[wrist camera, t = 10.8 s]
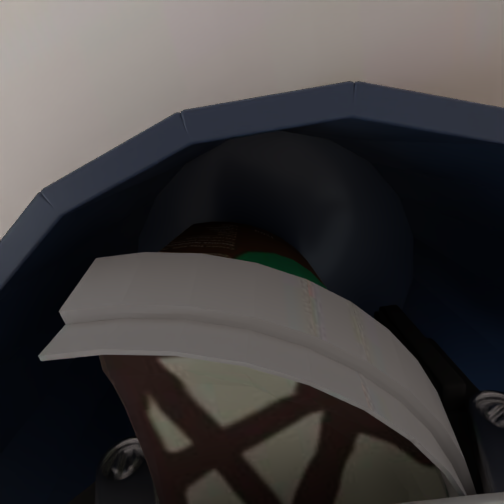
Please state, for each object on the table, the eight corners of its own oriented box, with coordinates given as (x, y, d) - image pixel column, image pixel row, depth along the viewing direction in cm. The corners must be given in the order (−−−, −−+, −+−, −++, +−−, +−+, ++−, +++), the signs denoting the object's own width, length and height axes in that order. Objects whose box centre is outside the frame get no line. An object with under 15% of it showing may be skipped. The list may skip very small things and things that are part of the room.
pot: (170, 403, 22) (86, 694, 10) (92, 151, 16) (-256, 184, 5) (416, 369, 21) (612, 641, 10) (420, 95, 16) (865, -8, 4)
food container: (363, 399, 17) (505, 732, 7) (246, 418, 17) (242, 757, 8) (334, 157, 13) (564, 213, 3) (183, 189, 13) (18, 319, 4)
